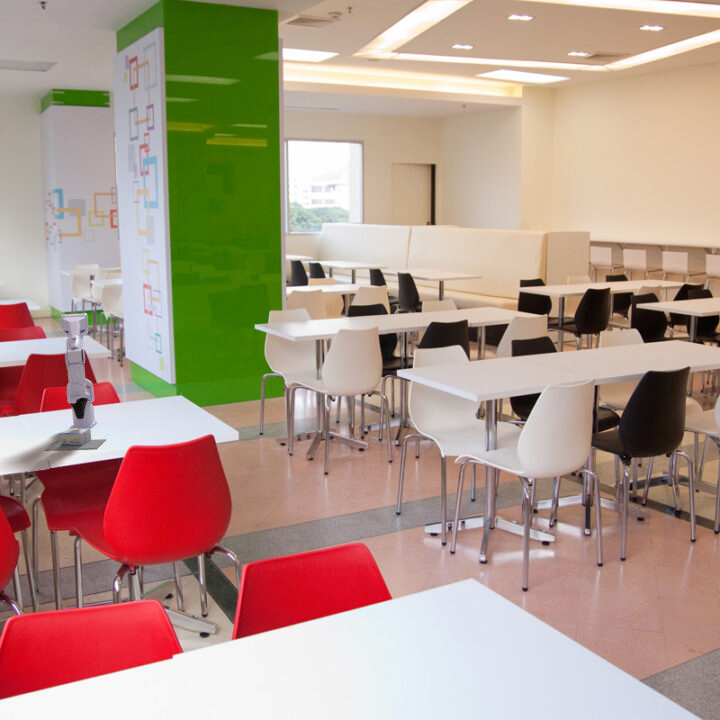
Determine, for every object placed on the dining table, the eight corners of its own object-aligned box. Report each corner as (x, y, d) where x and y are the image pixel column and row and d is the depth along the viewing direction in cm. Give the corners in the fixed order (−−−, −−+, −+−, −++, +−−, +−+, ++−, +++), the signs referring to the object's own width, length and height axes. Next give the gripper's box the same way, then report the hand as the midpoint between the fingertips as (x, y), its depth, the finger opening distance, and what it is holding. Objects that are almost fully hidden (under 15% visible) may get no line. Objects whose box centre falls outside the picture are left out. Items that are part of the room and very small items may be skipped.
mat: (56, 441, 302) (56, 441, 302) (106, 440, 303) (105, 439, 303) (44, 450, 290) (44, 449, 290) (96, 448, 291) (96, 448, 291)
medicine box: (90, 427, 302) (80, 433, 294) (91, 439, 303) (81, 445, 295) (69, 427, 303) (59, 433, 295) (70, 439, 304) (60, 445, 295)
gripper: (82, 385, 293) (85, 423, 296) (94, 377, 308) (97, 413, 310) (62, 386, 293) (65, 423, 295) (74, 378, 307) (78, 414, 310)
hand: (80, 418), depth 303 cm, fingers closed
